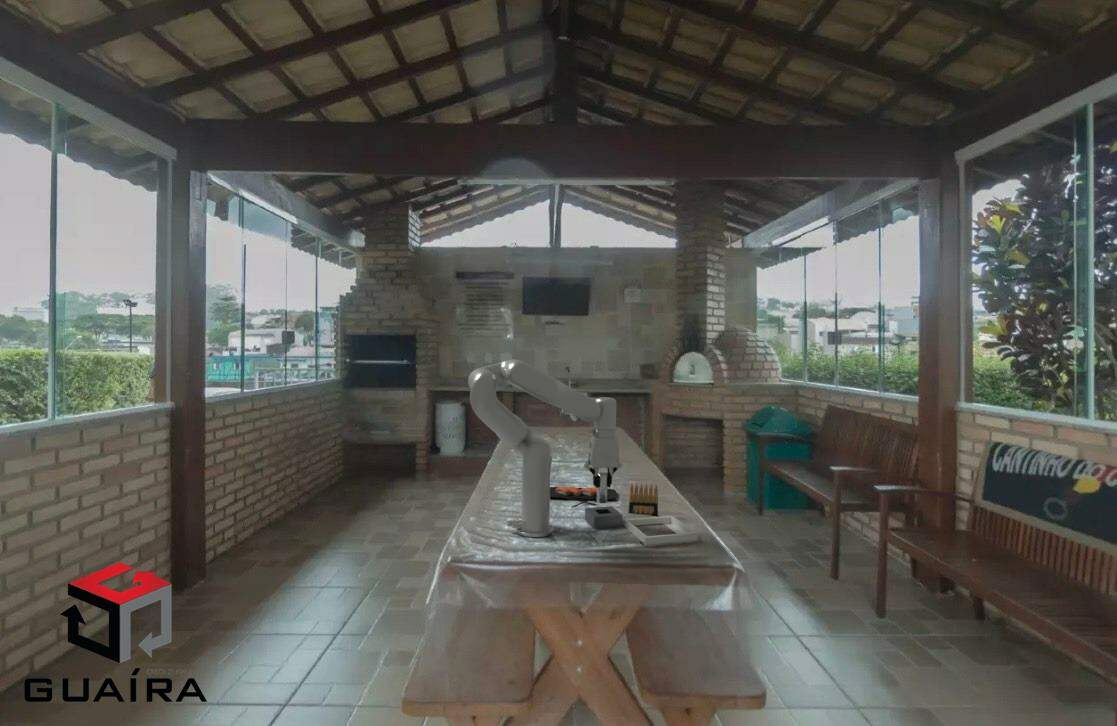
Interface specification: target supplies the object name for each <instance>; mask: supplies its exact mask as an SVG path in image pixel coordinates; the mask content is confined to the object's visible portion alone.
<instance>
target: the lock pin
mask: <svg viewBox="0 0 1117 726" xmlns="http://www.w3.org/2000/svg"><path fill="white" fill-rule="evenodd" d="M598 476H599V487H598V488H597V499H596V502H597V503H599V504H606V503H608V500H607V489H608V487H607V486H608V473H607V471H599V472H598Z"/></svg>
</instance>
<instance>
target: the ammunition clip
mask: <svg viewBox="0 0 1117 726" xmlns="http://www.w3.org/2000/svg"><path fill="white" fill-rule="evenodd" d="M634 485H635V486H633V483H632V482H631V483H630V485H629V493H628V514H639V515H640V514H641V515H651V516H652V517H653V516H658V517H659V508H658V507H659V496H658V495H659V494H658V491H659V490H658V486H657V484H656V483H655V484H654V487H653V485H652V483H650V485H649V488H648V484H647V483H645V484H644V487H643V484H642V483H640V485H639V487H638V483H635V484H634ZM653 488H654V489H653ZM648 489H649V491H648Z"/></svg>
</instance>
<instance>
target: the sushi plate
mask: <svg viewBox="0 0 1117 726" xmlns="http://www.w3.org/2000/svg"><path fill="white" fill-rule="evenodd" d="M550 498H555V499H567V500H571V501H576V502H579V503H578V504H574V505H572V506H571V508H575V507H578V506H581V505H582V504H587V505H591V506H599V504H597V503H593V502H590V501H592V500H596V499H597V488H596V487H595V486H594V487H575V486H567V487H566V486H550ZM616 498H617V490H616V489H613V488H607V501H608V500H609V501H611V500H613V501H614V500H616ZM583 500H585V501H583Z"/></svg>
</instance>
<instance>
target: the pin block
mask: <svg viewBox="0 0 1117 726" xmlns="http://www.w3.org/2000/svg"><path fill="white" fill-rule="evenodd" d="M584 520H585V521H586V522H587V523H588V524H589V526H590V527H592V528H593V530H596V529H597V530H598V529H600V530H601V529H608V528H620V527H623V514H622V513H621V512H620V511H619V510H617V509H616V508H615V507H613V506H611V505H610V506H598V507H597V506H596V507H595V506H594V507H585V508H584Z"/></svg>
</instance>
